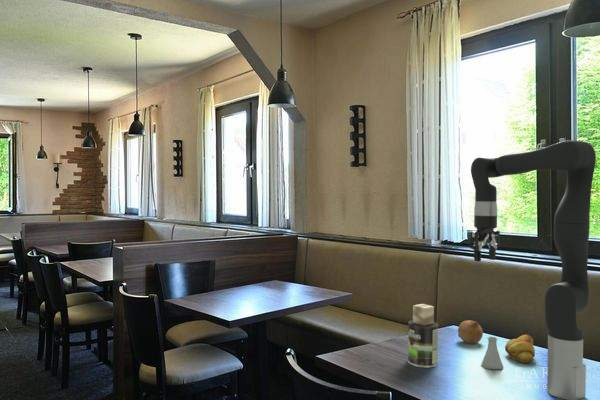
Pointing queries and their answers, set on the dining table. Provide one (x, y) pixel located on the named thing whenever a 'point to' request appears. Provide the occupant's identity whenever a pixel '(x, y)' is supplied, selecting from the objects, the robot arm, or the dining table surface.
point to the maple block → (423, 314)
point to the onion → (470, 332)
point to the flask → (492, 355)
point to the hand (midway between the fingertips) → (484, 260)
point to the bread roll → (521, 349)
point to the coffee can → (422, 344)
